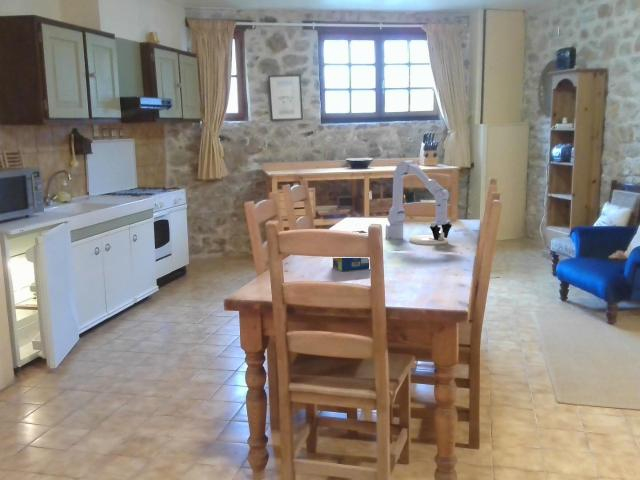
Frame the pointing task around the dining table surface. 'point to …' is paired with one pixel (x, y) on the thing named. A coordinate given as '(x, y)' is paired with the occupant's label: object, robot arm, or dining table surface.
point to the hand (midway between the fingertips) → (440, 238)
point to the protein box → (351, 262)
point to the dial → (428, 239)
